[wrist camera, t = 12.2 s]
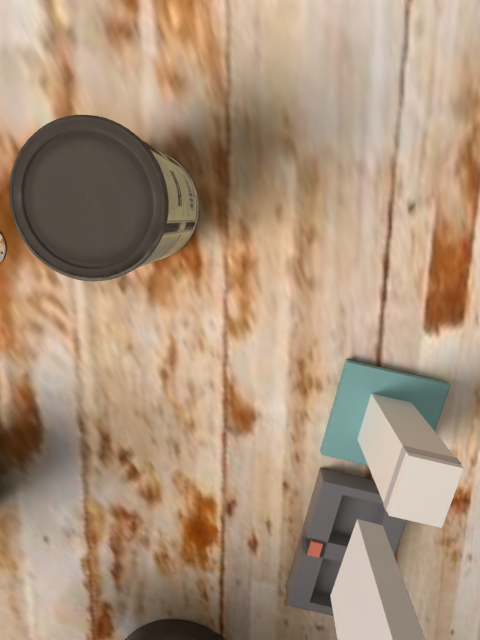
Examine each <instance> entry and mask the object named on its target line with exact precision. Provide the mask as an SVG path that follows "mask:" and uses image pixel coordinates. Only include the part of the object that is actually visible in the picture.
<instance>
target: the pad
mask: <svg viewBox="0 0 480 640" xmlns="http://www.w3.org/2000/svg"><path fill="white" fill-rule="evenodd" d="M449 387H450V385H449V384H448V383H447V382H444V381H440V380H435V379H431V378H427V377H422V376H418V375H413V374H409V373H405V372H400V371H396V370H391V369H387V368H383V367H378V366H374V365H370V364H365V363H361V362H356V361H352V360H348V359H346V362H345V365H344V369H343V372H342V376H341V379H340V383H339V386H338V390H337V393H336V397H335V400H334V404H333V407H332V411H331V414H330V418H329V421H328V425H327V428H326V432H325V435H324V439H323V442H322V446H321V449H320V450H321V454H322V455H326V456H330V457H334V458H339V459H343V460H347V461H352V462H356V463H360V464H365V465H368V464H367V462H366V459H365V457H364V454H363V452H362V449H361V447H360V445H359V442H358V440H357V439H358V436H359V432H360V429H361V426H362V422H363V419H364V416H365V412H366V409H367V406H368V403H369V399H370V396H371V393H372V394H377V395H381V396H385V397H390V398H394V399H398V400H403V401H407V402H412V404H413V405H414V406H415V407H416V409H417V410H418V411H419V412H420V414H421V415H422V416H423V417H424V419H425V420H426V421H427V423H428V424H429V425H430V426H431V428H432V429H433V430H434V431H435V428H436V425H437V422H438V419H439V416H440V413H441V411H442V408H443V405H444V402H445V399H446V396H447V393H448V390H449Z"/></svg>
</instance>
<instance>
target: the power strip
mask: <svg viewBox="0 0 480 640" xmlns="http://www.w3.org/2000/svg"><path fill="white" fill-rule="evenodd" d="M383 504H384V503H383V501H382V498H381V496H380V493H379V491H378V488H377V486H376V484H375V481H374V480H371V479H366V478H362V477H358V476H353V475H349V474H345V473H340V472H336V471H332V470H327V469H323V468H320V470H319V474H318V477H317V481H316V484H315V488H314V491H313V495H312V498H311V502H310V505H309V509H308V512H307V516H306V519H305V523H304V526H303V530H302V533H301V537H300V540H299V544H298V547H297V550H296V554H295V557H294V561H293V564H292V568H291V571H290V575H289V578H288V582H287V585H286V593H287V605H289V606H294V607H298V608H302V609H306V610H311V611H315V612H319V613H324V614H328V615H332V616H334V615H333V609H332V603H331V597H330V595H331V593H332V590H333V587H334V584H335V581H336V578H337V575H338V572H339V570H340V567H341V564H342V561H343V558H344V555H345V552H346V549H347V547H348V544H349V541H350V538H351V535H352V532H353V529H354V526H355V524H356V521H357V519H359V520H363V521H367V522H371V523H375V524H379V525H383V527H384V530H385V533H386V536H387V538H388V541H389V544H390V546H391V549H392V552H393V554H395V551H396V548H397V545H398V543H399V540H400V537H401V534H402V531H403V528H404V525H405V522H406V520H405V519H401V518H396V517H392V516H389V515H388V513H387V511H386V510H385V508H384V505H383Z"/></svg>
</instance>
